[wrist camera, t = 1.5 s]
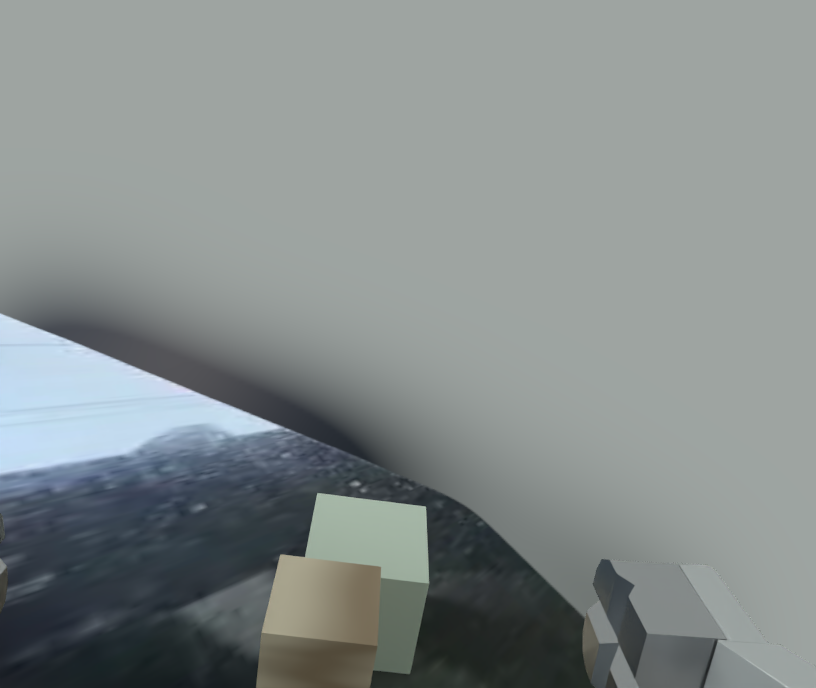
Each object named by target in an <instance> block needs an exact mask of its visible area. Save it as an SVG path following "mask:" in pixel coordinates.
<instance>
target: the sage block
mask: <svg viewBox="0 0 816 688" xmlns="http://www.w3.org/2000/svg"><path fill="white" fill-rule="evenodd" d="M305 558H313V559H322V560H330V561H338V562H346V563H355V564H363V565H371V566H379V567H381V582H380V604H379V626H378V646H377V652H376V657H375V662H374V668H373V670H376V671H385V672H394V673H403V674H410V672H411V667H412V663H413V658H414V653H415V648H416V644H417V639H418V634H419V629H420V625H421V620H422V615H423V610H424V606H425V601H426V596H427V591H428V587H429V569H428V545H427V522H426V507H424V506H416V505H408V504H400V503H392V502H384V501H376V500H368V499H360V498H352V497H344V496H336V495H328V494H320V493H317V498H316V503H315V508H314V514H313V519H312V524H311V529H310V534H309V539H308V544H307V550H306V555H305Z"/></svg>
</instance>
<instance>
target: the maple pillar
mask: <svg viewBox="0 0 816 688" xmlns="http://www.w3.org/2000/svg"><path fill="white" fill-rule="evenodd" d="M380 582H381V567H379V566H371V565H363V564H355V563H346V562H338V561H330V560H322V559H313V558H305V557H297V556H289V555H280V559H279V563H278V567H277V571H276V575H275V579H274V583H273V587H272V592H271V596H270V600H269V604H268V608H267V612H266V616H265V620H264V625H263V629H262V633H261V643H260V654H259V664H258V674H257V684H256V688H370V684H371V679H372V673H373V668H374V662H375V657H376V652H377V646H378V626H379V604H380Z"/></svg>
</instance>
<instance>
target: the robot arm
mask: <svg viewBox="0 0 816 688" xmlns="http://www.w3.org/2000/svg"><path fill="white" fill-rule="evenodd" d="M4 538H5V533H4V524H3V516H2V515H1V514H0V543H1V542H2V541H3V539H4ZM7 585H8V577H7V566H6V565H5V564H4V563H3V561H2V560H1V559H0V613H1V611H2V608H3V606H4V603H5V599H6V592H7ZM593 586H594V588H595V590H596V593H597V595H598V597H599V601H598V602H596V603H595V604H594V605H593V606H592V607H591V608H590V609H589V610H588V611H587V613H586V618H585V623H584V628H583V657H584V662H585V668H586V671H587V674H588V677H589V680H590V683H591V684H593V685H594V686H595V687H596V688H816V666H814V665H813V664H811V663H810V662H808V661H806V660H805V659H803V658H802V657H800V656H798V655H797V654H795V653H793V652H792V651H790V650H789V649H787V648H785V647H784V646H782V645H779V644H769V642H768V641H767V640H766V639H765V637H764V636H763V634H762V633H761V632H760V630H759V629H758V628H757V626H756V625H755V623H754V622H753V621H752V619H751V618H750V616H749V615H748V614H747V612H746V611H745V610H744V608H743V607H742V606H741V604H740V603H739V601H738V600H737V599H736V597H735V596H734V595H733V593H732V592H731V591H730V589H729V588H728V586H727V585H726V584H725V582H724V581H723V580H722V578H721V577H720V575H719V574H718V573H717V571H716V570H715V569H714V568H712V567H710V566H708V565H706V564H683V563H654V562H639V561H623V560H604V559H602V560H601V562H600V564H599V566H598V567H597V570H596V574H595V578H594V583H593Z"/></svg>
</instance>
